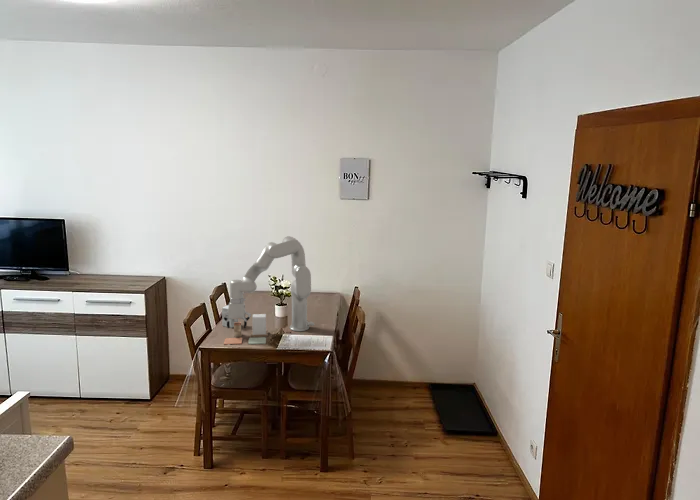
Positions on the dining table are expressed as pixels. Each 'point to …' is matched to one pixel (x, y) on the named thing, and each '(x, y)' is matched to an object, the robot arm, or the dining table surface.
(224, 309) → the supplement box
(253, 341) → the sage pad
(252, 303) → the dining table surface
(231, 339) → the terracotta pad
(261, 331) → the mounted unit
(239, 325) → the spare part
